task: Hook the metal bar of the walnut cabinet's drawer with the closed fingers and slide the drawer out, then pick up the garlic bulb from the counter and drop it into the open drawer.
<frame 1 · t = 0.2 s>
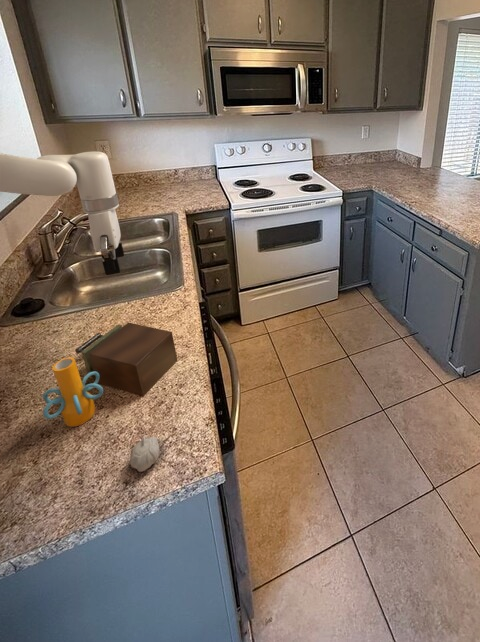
hand: (115, 264, 93), 28 cm above the counter, tool pointing down, fingers open, 9 cm apart
drawer: (115, 352, 95), point 5 cm above the counter, slide at 2.0 cm
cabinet: (138, 371, 95), on the counter
yellow vase with loops: (81, 416, 82), on the counter
garlic: (147, 461, 72), on the counter
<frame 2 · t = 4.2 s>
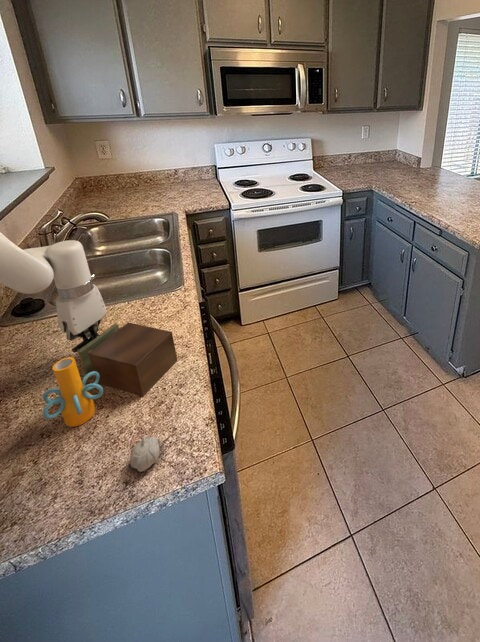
hand: (93, 346, 97), 5 cm above the counter, tool pointing down, fingers closed
drawer: (111, 351, 95), point 5 cm above the counter, slide at 3.2 cm, touching gripper
everything else where it was.
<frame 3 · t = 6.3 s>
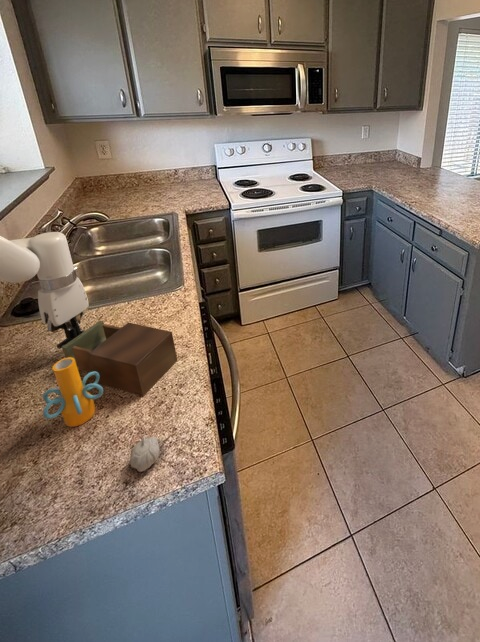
hand: (74, 338, 98), 7 cm above the counter, tool pointing down, fingers closed
drawer: (96, 347, 97), point 5 cm above the counter, slide at 8.6 cm
everything else where it was.
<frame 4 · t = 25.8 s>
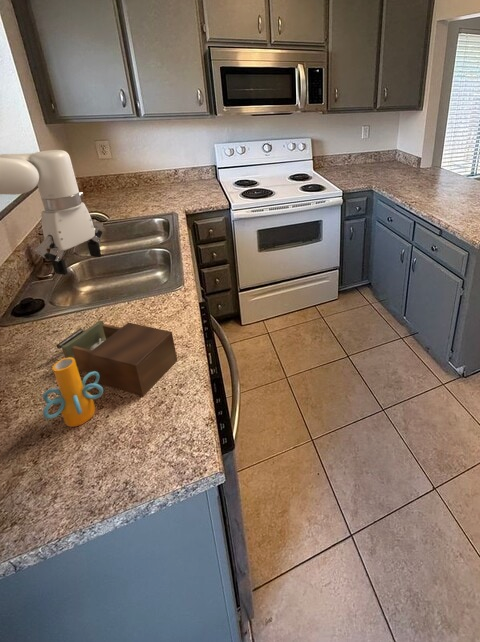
hand: (79, 264, 92), 28 cm above the counter, tool pointing down, fingers open, 9 cm apart
drawer: (96, 347, 97), point 5 cm above the counter, slide at 8.7 cm, touching garlic
garlic: (102, 358, 97), point 2 cm above the counter, touching drawer
everything else where it was.
at the end: drawer slide at 8.7 cm; garlic inside the target area in the drawer (1.3 cm from its centre), point 1.8 cm above the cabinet's base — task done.
